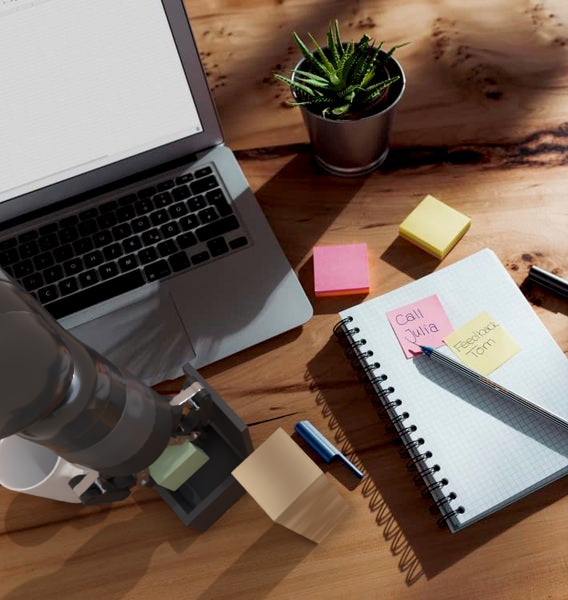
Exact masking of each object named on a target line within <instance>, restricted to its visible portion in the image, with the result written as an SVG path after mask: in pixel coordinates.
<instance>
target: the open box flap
mask: <svg viewBox="0 0 568 600" xmlns="http://www.w3.org/2000/svg"><path fill="white" fill-rule="evenodd" d="M181 369H182V372H183V374H184V376H185V380H186V379H187V378H188V377H190V376H195V378H196V379H197V380H198V381H199V382H200V383H201V384H202V385H203V386H204V387H205V388H206V389H207V391H208V392H209V393H210V394H211V398H212V407H213V415H214V419H213V420H212V421H213V423H214V424H215V425H216V426H217V427H218V428H219V429H220V430H221V431H222V433H223V434H224V435H225V436H226V437H227V438H228V439H229V440H230V441H231V443H232V444H233V445H234V446H235V447H236V448H237V449H238V450H239V451H240V453H241V454H242V455H243V456H244V457H245V458H248V457H249V456H250V455H251V454H252V453H253V452H254V451H255V449H254V445H253V441H252V437H251V433H250V430H249V426H248V425H247V424H246V423H245V422H244V420H243V419H242V418H240V417H241V416H239V415H238V414H237V413H236V412H235V411H234V409H233V408H232V407H231V406H230V405H229V404H228V403H227V402H226V401H225V400H224V399H223V398H222V397H221V395H219V393H218V392H217V391H216V390H215V389H214V388H213V387H212V385H210V383H209V382H208V381H207V380H206V379H205V378H204V377H203V376H202V375H201V374H200V373H199V371H198V370H197V369H195V367H194V366H193V365H192V364H191V363H190V362H189V361H186V362H185V363H184V364H183V365H181Z"/></svg>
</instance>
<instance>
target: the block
mask: <svg viewBox="0 0 568 600" xmlns="http://www.w3.org/2000/svg"><path fill="white" fill-rule="evenodd" d="M209 459H210V458H209V457H208V456H207V455H206V453H205V452H204V451H203V450H202V449H200V448H198V447H197V446H195V445H194V444H192V443H191V442H190V441H186V442H185V443H184V444H183V445H178V446H168V447H167V448H166V449H165V450H164V452H163V453H162V455H161V456H160V457H159V458H158V459H157V460H156V461H155V462H154V463H153V464H152V465H150V466H149V469H150V473H151V474H150V475H151V477H152V478H153V479H154V480H155V481H156V483H157V484H158V485H160V486H163V487H165V488H168V489H170V490H173V491H175V490H176V489H177V488H178V487H179V486H181V485H182V484H183V483H184V482H185V481H186V480H187V479H188V478H189V477H190V476H191V475H192V474H194V473H195V472H196V471H197V470H198V469H199V468H200V467H201V466H202V465H203V464H204V463H206V462H207V461H208V460H209Z"/></svg>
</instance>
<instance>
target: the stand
mask: <svg viewBox="0 0 568 600" xmlns="http://www.w3.org/2000/svg"><path fill="white" fill-rule="evenodd" d="M231 474H232V475H233V476H234V477H235V478H236V479H237V480H238V482H239V483H240V484H241V485H242V486H243V487H244V488H245V489H246V491H247V492H246V493H248V495H250V496H251V497H252V499H253V500H254V501H255V502H256V503H257V504H258V506H259V507H260V508H261V509H262V510H263V511H264V512H265V513H266V514H267V515H268V517H269V518H270V519H271V520H272V521H273V522H274V523H276V524H278V525H281V526H283V527H284V528H286V529H289V530H291V531H292V532H293V533H294V532H295V533H296V534H298V535H300V536H302V537H303V538H306V539H308V540H310V541H312V542H314V543H316V544H318V545H319V544H321V543H322V541H324V539H325V538H327V536H329V535H330V533H331V532H332V531H333V530H334V529H335V528H336V527H337V526H338V525H339V524H340V523H341V522H342V521H343V520H344V519H345V518H347V516H348V515H349V514H350V513H352V509H351V508H350V506H349V505H348V504H347V502H346V501H345V500H344V498H343V497H342V495H341V494H340V493H339V492H338V490H337V489H336V488H335V486H334V485H333V484H332V482H331V481H330V479H329V478H328V476H327V475H326V474H325V473H324V472H323V470H321V468H320V467H319V466H318V465H317V464H316V463H315V462H314V461H313V460H312V458H310V457H309V456H308V455H307V453H305V451H304V450H303V449H302V448H301V447H300V446H299V445H298V444H297V443H296V442H295V441H294V440H293V438H292V437H291V436H290V435H289V434H288V433H287V432H286V431H285V430H284V429H283V428H282V427H281V426H280V427H278V428H277V429H276V430H275V431H274V432H273V433H272V434H270V435H269V437H268V438H267V439H265V440H264V441H263V443H261V444H260V445H259V446H258V447H256V448H255V449H254V452H253V453H252V454H251V455H250V456H249V457H248V458H246V459H245V460H244V461H243V462H242V463H241V464H240V465H239V466H238V467H237V468H236V469H235V470H234V471H233V472H232V473H231Z"/></svg>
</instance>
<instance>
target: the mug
mask: <svg viewBox="0 0 568 600" xmlns="http://www.w3.org/2000/svg"><path fill="white" fill-rule="evenodd" d="M91 470H92V469H89V468H87V467H84V466H81V465H79V464H76V463H75V464H72V463H69V462H68V461H66V460H64V459H63V458H61V457H60V456H58V455H56V454H55V453H53V452H52V451H51V450H49V449H47V448H45V447H42V446H40V445H37V444H34V443H32V442H29V441H27V440H25V439H22V438H20V437H18V436H16V435H15V434H14V435H12V436H9V437H7V438H4V439H1V440H0V485H1V486H2V487H4V488H5V489H7V490H10V491H13V492H18V493H22V494H26V495H31V496H36V497H41V498H46V499H51V500H55V501H60V502H65V503H71V504H80V503H82V502H81V500H80V499H79V498H78V497H77V496H76V494H75V493H74V492H73V490H72V489H71V487H70V486H69V485H68V482H69V481H70V480H71V479H72V478H73V477H75V476H77V475H81V474H87V472H88V471H91Z"/></svg>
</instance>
